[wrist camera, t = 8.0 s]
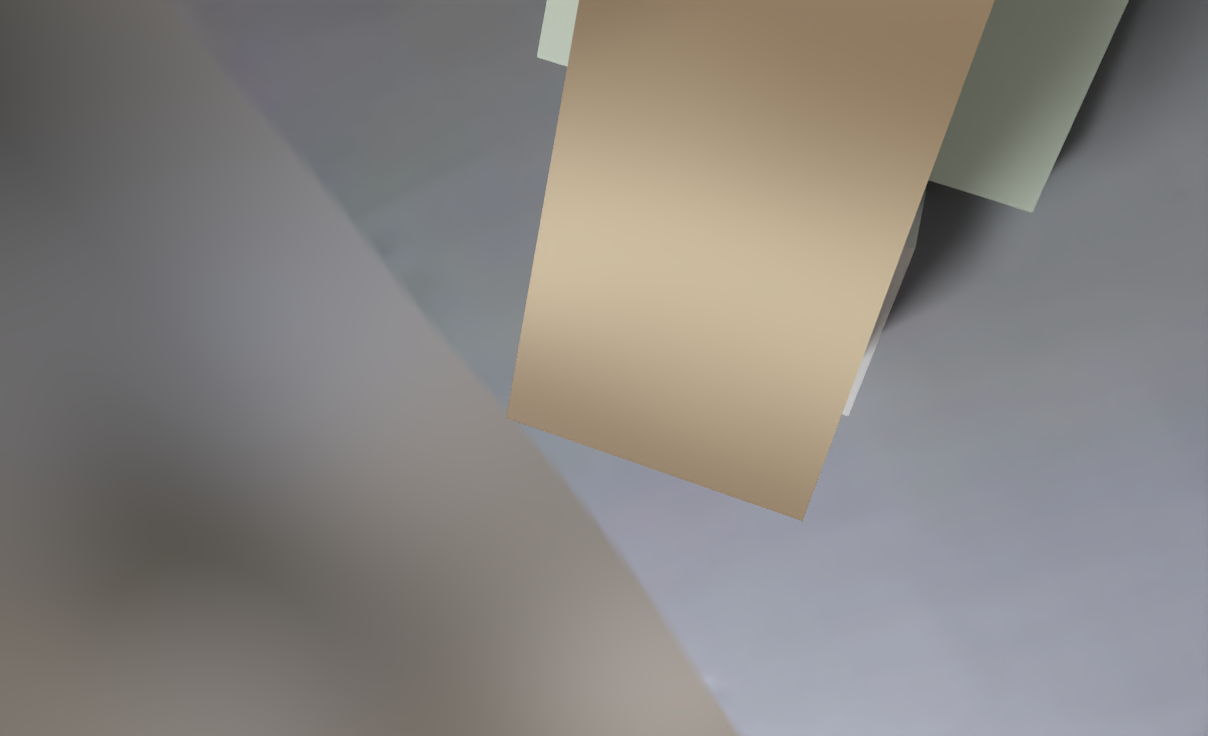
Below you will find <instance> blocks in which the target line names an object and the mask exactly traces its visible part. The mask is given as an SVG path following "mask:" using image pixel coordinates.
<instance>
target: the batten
mask: <svg viewBox="0 0 1208 736" xmlns="http://www.w3.org/2000/svg"><path fill="white" fill-rule="evenodd" d="M994 1H995V0H579V3H578V9H577V14H576V20H575V26H574V32H573V37H572V43H571V49H570V55H569V60H568V66H567V72H566V78H565V83H564V89H563V95H562V101H561V106H560V112H559V118H558V124H557V129H556V135H555V141H554V147H553V152H552V158H551V164H550V170H549V175H548V181H547V187H546V193H545V199H544V204H543V210H542V216H541V222H540V227H539V233H538V239H537V245H536V250H535V256H534V262H533V268H532V273H531V279H530V285H529V291H528V296H527V302H526V308H525V314H524V319H523V325H522V331H521V337H520V342H519V348H518V354H517V360H516V365H515V371H514V377H513V383H512V388H511V394H510V400H509V406H508V411H507V418H508V419H511V420H514V421H517V422H520V423H522V424H525V425H528V426H531V427H534V428H537V429H540V430H543V431H545V432H548V433H551V434H554V435H557V436H560V437H563V438H566V439H568V440H571V441H574V442H577V443H580V444H583V445H586V446H589V447H591V448H594V449H597V450H600V451H603V452H606V453H609V454H611V455H614V456H617V457H620V458H623V459H626V460H629V461H632V462H634V463H637V464H640V465H643V466H646V467H649V468H652V469H655V470H657V471H660V472H663V473H666V474H669V475H672V476H675V477H678V478H680V479H683V480H686V481H689V482H692V483H695V484H698V485H701V486H703V487H706V488H709V489H712V490H715V491H718V492H721V493H724V494H726V495H729V496H732V497H735V498H738V499H741V500H744V501H746V502H749V503H752V504H755V505H758V506H761V507H764V508H767V509H769V510H772V511H775V512H778V513H781V514H784V515H787V516H790V517H792V518H795V519H798V520H801V521H803V518H804V516H805V513H806V510H807V507H808V505H809V502H810V499H811V497H812V494H813V491H814V489H815V486H816V483H817V480H818V478H819V475H820V472H821V470H822V467H823V464H824V461H825V459H826V456H827V453H828V451H829V448H830V445H831V442H832V440H833V437H834V434H835V432H836V429H837V426H838V423H839V421H840V418H841V415H842V413H843V410H844V407H845V405H846V402H847V399H848V396H849V394H850V391H851V388H852V386H853V383H854V380H855V377H856V375H857V372H858V369H859V367H860V364H861V361H862V358H863V356H864V353H865V350H866V348H867V345H868V342H869V339H870V337H871V334H872V331H873V329H874V326H875V323H876V321H877V318H878V315H879V312H880V310H881V307H882V304H883V302H884V299H885V296H886V293H887V291H888V288H889V285H890V283H891V280H892V277H893V274H894V272H895V269H896V266H897V264H898V261H899V258H900V256H901V253H902V250H903V247H904V245H905V242H906V239H907V237H908V234H909V231H910V228H911V226H912V223H913V220H914V218H915V215H916V212H917V209H918V207H919V204H920V201H921V199H922V196H923V193H924V190H925V188H926V185H927V182H928V180H929V177H930V174H931V172H932V169H933V166H934V163H935V161H936V158H937V155H938V153H939V150H940V147H941V144H942V142H943V139H944V136H945V134H946V131H947V128H948V125H949V123H950V120H951V117H952V115H953V112H954V109H955V107H956V104H957V101H958V98H959V96H960V93H961V90H962V88H963V85H964V82H965V79H966V77H967V74H968V71H969V69H970V66H971V63H972V60H973V58H974V55H975V52H976V50H977V47H978V44H979V41H980V39H981V36H982V33H983V31H984V28H985V25H986V23H987V20H988V17H989V14H990V12H991V9H992V6H993V4H994Z"/></svg>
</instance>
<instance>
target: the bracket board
mask: <svg viewBox="0 0 1208 736" xmlns="http://www.w3.org/2000/svg"><path fill="white" fill-rule="evenodd" d="M1128 1H1129V0H995V1H994V4H993V6H992V9H991V12H990V14H989V17H988V20H987V23H986V25H985V28H984V31H983V33H982V36H981V39H980V41H979V44H978V47H977V50H976V52H975V55H974V58H973V60H972V63H971V66H970V69H969V71H968V74H967V77H966V79H965V82H964V85H963V88H962V90H961V93H960V96H959V98H958V101H957V104H956V107H955V109H954V112H953V115H952V117H951V120H950V123H949V125H948V128H947V131H946V134H945V136H944V139H943V142H942V144H941V147H940V150H939V153H938V155H937V158H936V161H935V163H934V166H933V169H932V172H931V174H930V177H929V180H930V181H933V182H936V183H939V184H942V185H945V186H949V187H952V188H955V189H958V190H961V191H965V192H968V193H971V194H974V195H977V196H980V197H984V198H987V199H990V200H993V201H996V202H1000V203H1003V204H1006V205H1009V206H1012V207H1015V208H1019V209H1022V210H1025V211H1028V212H1031V213H1032V212H1033V210H1034V208H1035V205H1036V203H1037V201H1038V199H1039V197H1040V194H1041V192H1042V190H1043V188H1044V186H1045V183H1046V181H1047V179H1048V177H1049V175H1050V172H1051V170H1052V168H1053V166H1054V164H1055V161H1056V159H1057V157H1058V155H1059V153H1060V150H1061V148H1062V146H1063V144H1064V142H1065V139H1066V137H1067V135H1068V133H1069V131H1070V128H1071V126H1072V124H1073V122H1074V120H1075V117H1076V115H1077V113H1078V111H1079V109H1080V106H1081V104H1082V102H1083V100H1084V98H1085V96H1086V93H1087V91H1088V89H1089V87H1090V85H1091V82H1092V80H1093V78H1094V76H1095V74H1096V71H1097V69H1098V67H1099V65H1100V63H1101V60H1102V58H1103V56H1104V54H1105V52H1106V49H1107V47H1108V45H1109V43H1110V41H1111V38H1112V36H1113V34H1114V32H1115V30H1116V27H1117V25H1118V23H1119V21H1120V19H1121V16H1122V14H1123V12H1124V10H1125V8H1126V5H1127V3H1128ZM578 3H579V0H547V4H546V9H545V15H544V21H543V26H542V32H541V37H540V43H539V49H538V54H537V57H538V58H541V59H544V60H548V61H551V62H554V63H557V64H560V65H563V66H568V60H569V55H570V49H571V43H572V37H573V32H574V26H575V20H576V14H577V9H578ZM926 190H927V189H925V190H924V193H923V196H922V199H921V201H920V204H919V207H918V209H917V212H916V215H915V218H914V220H913V223H912V226H911V228H910V231H909V234H908V237H907V239H906V242H905V245H904V247H903V250H902V253H901V256H900V258H899V261H898V264H897V266H896V269H895V272H894V274H893V277H892V280H891V283H890V285H889V288H888V291H887V293H886V296H885V299H884V302H883V304H882V307H881V310H880V312H879V315H878V318H877V321H876V323H875V326H874V329H873V331H872V334H871V337H870V339H869V342H868V345H867V348H866V350H865V353H864V356H863V358H862V361H861V364H860V367H859V369H858V372H857V375H856V377H855V380H854V383H853V386H852V388H851V391H850V394H849V396H848V399H847V402H846V405H845V407H844V410H843V413H842V414H843V415H846V416H848V415H849V413H850V410H851V408H852V405H853V403H854V400H855V398H856V395H857V393H858V390H859V388H860V385H861V383H862V380H863V378H864V375H865V373H866V370H867V368H868V365H869V363H870V360H871V358H872V355H873V353H874V350H875V348H876V345H877V343H878V340H879V338H880V335H881V333H882V330H883V328H884V325H885V323H886V320H887V318H888V315H889V313H890V310H891V308H892V305H893V303H894V300H895V298H896V295H897V293H898V291H899V288H900V286H901V283H902V281H903V278H904V276H905V273H906V271H907V268H908V266H909V263H910V261H911V258H912V256H913V253H914V251H915V247H916V242H917V237H918V232H919V226H920V221H921V216H922V211H923V206H924V201H925V196H926Z"/></svg>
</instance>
